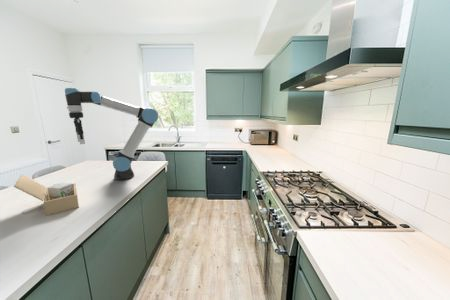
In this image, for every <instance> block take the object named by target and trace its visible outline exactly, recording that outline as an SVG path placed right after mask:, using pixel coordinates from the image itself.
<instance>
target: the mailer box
mask: <svg viewBox="0 0 450 300" xmlns="http://www.w3.org/2000/svg"><path fill="white" fill-rule="evenodd" d="M72 186H73V191H74V195H71V196H67V197H62V198H58V199H53V200H50V199H49V194H48V189H46V193H45V197H44V200H43V201H42V202H43V203H42V204H43V207H44V211H45V216H51V215H55V214H60V213H63V212H66V211H70V210H74V209H78V208H79V207H80V205H79V199H78V192H77V187H76V183H72Z"/></svg>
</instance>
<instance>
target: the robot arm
mask: <svg viewBox="0 0 450 300" xmlns="http://www.w3.org/2000/svg"><path fill="white" fill-rule="evenodd" d="M64 93H65V95H64V97H65V100H66V105H67V106H66V109H67V110H68V116H69V119H73V124H74V127H75V128H74V129H75V133H76V137H77V138H76V139H77V142H78V143H79V145H85V144H86V140H85V136H84V130H83V124H82V120H81V119H82V118H84V113H83V106H82V104H95V105H98V106H101V107H104V108H108V109H111V110H114V111H119V112H121V113H124V114H128V115H130V116H131V115H132V116H135V117H136V118H137V122H138V123H137V125H136V126H135V127H134V129H133V131H132V133H131V134H130V137H129V138H128V139H127V141H126V143H125V145H124V147H123V148H122V149H121V150H118V151H117V150H115V151H114V152H113V161H112V166H113V168H114V175H113V179H114V180H115V181H125V180H130V179H133V178H134V177H135V173H134V171H133V168H132V165H131V164H132V163H133V160H134V159H135V154H136V152H137V149H139V146H140V145H141V143H142V141H143V139H144V137H145V136H146V135H147V133H148V130H149V129H151V128H153V126H154V124H155V123H157V121H158V119H159V114H158V112H157V110H156V109H154V108H152V107H143V106H135V105H133V104H130V103H126V102H123V101H119V100H117V99H113V98H111V97H107V96H105V95H101V93H100V92H99V91H80V89H79V88H76V87H66V88H64ZM80 118H81V119H80Z"/></svg>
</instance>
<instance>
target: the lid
mask: <svg viewBox="0 0 450 300" xmlns="http://www.w3.org/2000/svg"><path fill="white" fill-rule="evenodd" d="M13 188H15V189H17V190H19V191H22V192H23V193H26V194H28V195H30V196H32V197H34V198H36V199H38V200H40V201H42V202H44V198H45V194H46V190H47V188H48V187H46V186H45V185H44V184H41V183H40V182H38V181H35V180H34V179H31V178H30V177H29V176H26V175H24V174H20V176H19V178H18V179H17V181H16V182H15V184H14V185H13Z"/></svg>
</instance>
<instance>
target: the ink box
mask: <svg viewBox="0 0 450 300" xmlns="http://www.w3.org/2000/svg"><path fill="white" fill-rule="evenodd" d="M72 184H73V183H70V182H59V183H56V184H53V185H51V186H48V187H47V189H48V194H49V199H50V200H53V199H58V198H62V197H67V196H71V195H74V191H73V186H72ZM47 189H46V190H47Z"/></svg>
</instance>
